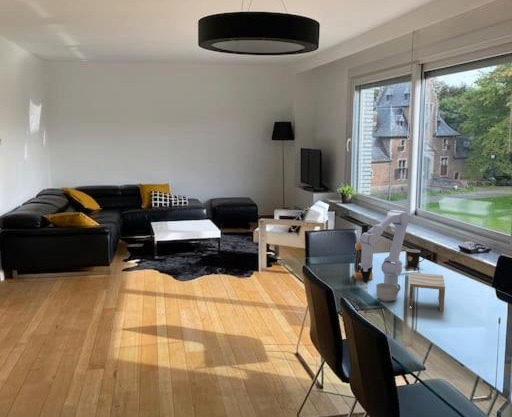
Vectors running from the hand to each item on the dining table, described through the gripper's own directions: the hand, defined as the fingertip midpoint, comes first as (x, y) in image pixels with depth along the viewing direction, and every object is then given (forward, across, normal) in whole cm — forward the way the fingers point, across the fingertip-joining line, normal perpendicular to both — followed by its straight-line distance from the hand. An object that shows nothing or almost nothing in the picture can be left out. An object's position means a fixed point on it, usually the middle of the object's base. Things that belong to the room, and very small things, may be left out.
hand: (366, 281), depth 269 cm
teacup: (+9, 0, +12) cm, 15 cm away
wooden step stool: (+8, 0, +30) cm, 31 cm away
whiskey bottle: (+9, -38, -5) cm, 39 cm away
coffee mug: (+9, -75, +24) cm, 79 cm away
